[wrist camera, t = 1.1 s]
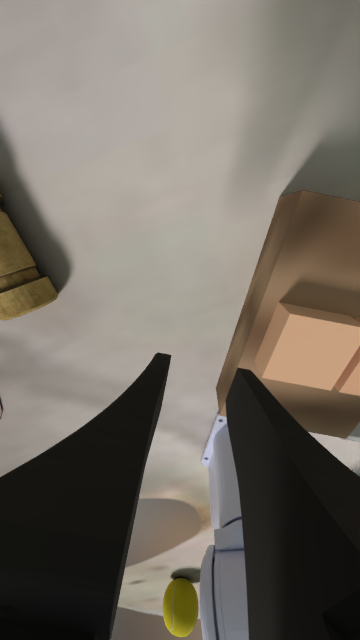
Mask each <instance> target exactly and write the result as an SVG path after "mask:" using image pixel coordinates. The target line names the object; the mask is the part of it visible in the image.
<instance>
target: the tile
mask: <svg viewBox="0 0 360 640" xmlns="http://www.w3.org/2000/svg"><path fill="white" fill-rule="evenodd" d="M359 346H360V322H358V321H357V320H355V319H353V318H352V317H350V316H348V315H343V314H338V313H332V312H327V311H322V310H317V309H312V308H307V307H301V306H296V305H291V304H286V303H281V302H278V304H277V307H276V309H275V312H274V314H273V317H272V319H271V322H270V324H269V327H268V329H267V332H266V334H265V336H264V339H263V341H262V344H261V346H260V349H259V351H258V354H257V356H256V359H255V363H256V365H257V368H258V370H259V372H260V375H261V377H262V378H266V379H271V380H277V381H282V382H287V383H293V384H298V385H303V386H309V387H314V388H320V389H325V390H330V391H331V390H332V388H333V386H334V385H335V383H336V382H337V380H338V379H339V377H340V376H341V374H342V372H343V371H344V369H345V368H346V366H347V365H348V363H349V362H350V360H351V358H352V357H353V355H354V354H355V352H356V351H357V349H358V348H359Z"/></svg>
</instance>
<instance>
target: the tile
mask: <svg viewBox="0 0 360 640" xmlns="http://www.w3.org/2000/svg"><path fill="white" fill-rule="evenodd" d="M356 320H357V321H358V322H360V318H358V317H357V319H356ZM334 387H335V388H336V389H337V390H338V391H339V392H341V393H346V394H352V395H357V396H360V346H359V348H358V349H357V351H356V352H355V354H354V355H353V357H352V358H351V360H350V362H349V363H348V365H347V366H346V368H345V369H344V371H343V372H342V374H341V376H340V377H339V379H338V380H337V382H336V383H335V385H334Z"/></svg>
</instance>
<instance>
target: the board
mask: <svg viewBox="0 0 360 640" xmlns="http://www.w3.org/2000/svg"><path fill="white" fill-rule="evenodd" d="M278 302H281V303H286V304H291V305H296V306H301V307H307V308H312V309H317V310H322V311H327V312H332V313H338V314H343V315H348V316H350V317H352V318H353V319H355V320H356V319H357V317H358V318H360V202H358V201H353V200H348V199H343V198H339V197H334V196H329V195H324V194H319V193H314V192H309V191H305V190H302V191H298V192H294V193H291V194H287V195H283V196H280V197H279V200H278V203H277V206H276V209H275V212H274V215H273V218H272V221H271V224H270V227H269V230H268V233H267V236H266V239H265V242H264V245H263V248H262V251H261V254H260V257H259V260H258V263H257V266H256V269H255V272H254V275H253V278H252V281H251V284H250V287H249V290H248V293H247V296H246V299H245V302H244V305H243V308H242V311H241V314H240V317H239V320H238V323H237V326H236V329H235V332H234V335H233V338H232V341H231V344H230V347H229V350H228V353H227V356H226V360H225V363H224V366H223V369H222V372H221V375H220V378H219V381H218V384H217V387H216V391H217V399H218V407H219V414H220V416H224V417H226V397H227V395H228V392H229V389H230V386H231V384H232V381H233V378H234V376H235V373H236V370H237V368H243V369H249V370H251V371H252V372H253V373H254V374H255V375H256V376H257V377H258V379H259V380H260V381H261V382H262V383H263V384H264V385H265V387H266V388H267V389H268V390H269V391H270V392H271V394H272V395H273V396H274V397H275V398H276V399H277V400H278V402H279V403H280V404H281V405H282V406H283V407H284V408H285V409H286V410H287V411H288V412H289V413H290V415H291V416H292V417H293V418H294V419H295V420H296V421H297V422H298V423H299V424H300V425H301V426H302V427H303V428H304V429H305V430H306V431H307V432H312V433H318V434H323V435H329V436H334V437H340V438H345V439H347V437H348V436H349V435H350V434H351V432H352V431H353V430H354V429H355V427H356V426H357V425H358V423H359V422H360V396H357V395H352V394H346V393H341V392H339V391H338V390H337V389H336V388H335V387H334V386H333V388H332V390H331V391H330V390H325V389H320V388H314V387H309V386H303V385H298V384H293V383H287V382H282V381H277V380H271V379H266V378H262V377H261V375H260V372H259V370H258V368H257V365H256V363H255V359H256V356H257V354H258V351H259V349H260V346H261V344H262V341H263V339H264V336H265V334H266V332H267V329H268V327H269V324H270V322H271V319H272V317H273V314H274V312H275V309H276V307H277V304H278Z"/></svg>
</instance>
